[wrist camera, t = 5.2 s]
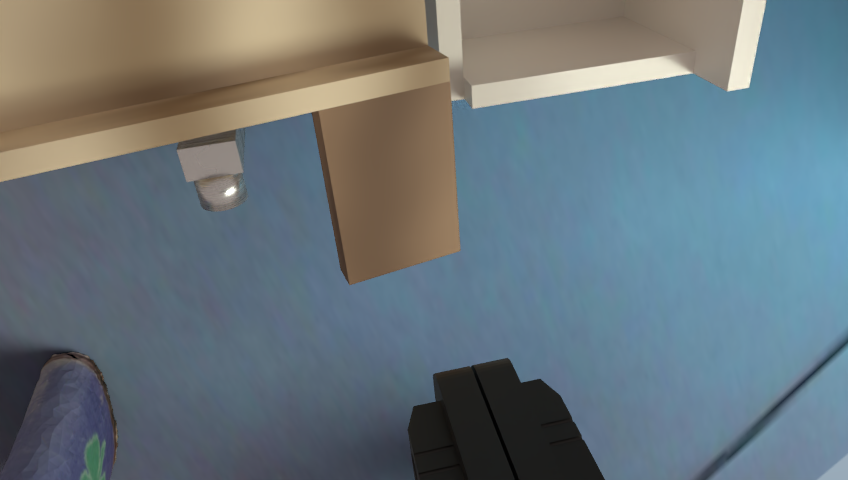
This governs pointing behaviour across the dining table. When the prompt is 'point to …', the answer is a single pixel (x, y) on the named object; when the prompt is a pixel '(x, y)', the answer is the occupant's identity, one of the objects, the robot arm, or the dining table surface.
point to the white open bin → (589, 44)
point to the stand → (216, 168)
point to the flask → (66, 425)
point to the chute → (247, 100)
